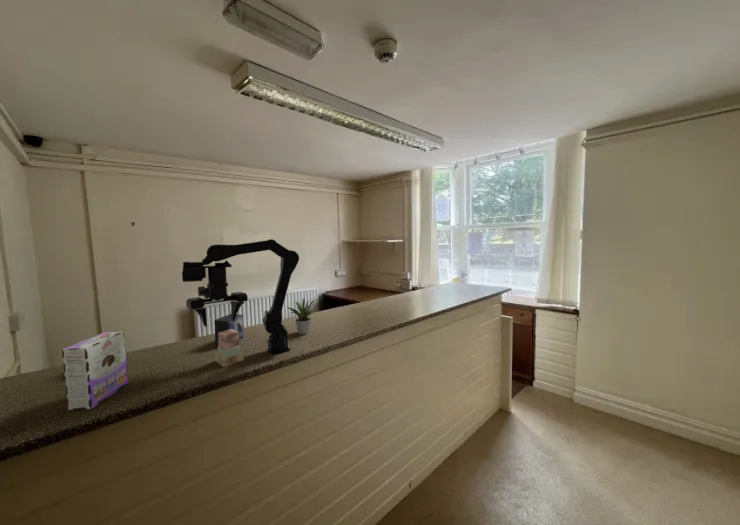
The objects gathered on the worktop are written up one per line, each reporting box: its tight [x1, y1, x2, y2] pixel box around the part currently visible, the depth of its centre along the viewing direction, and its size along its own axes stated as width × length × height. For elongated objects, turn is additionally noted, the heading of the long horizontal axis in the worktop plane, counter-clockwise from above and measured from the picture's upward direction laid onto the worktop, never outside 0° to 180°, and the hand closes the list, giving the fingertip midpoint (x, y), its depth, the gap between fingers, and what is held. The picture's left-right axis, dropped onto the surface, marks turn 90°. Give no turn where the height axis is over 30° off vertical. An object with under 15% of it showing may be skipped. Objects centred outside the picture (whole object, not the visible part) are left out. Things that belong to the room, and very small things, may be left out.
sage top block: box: [217, 344, 242, 359], centre depth 106 cm, size 6×6×3 cm
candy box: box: [61, 330, 129, 411], centre depth 82 cm, size 14×6×16 cm, turn 5°
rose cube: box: [218, 329, 240, 349], centre depth 105 cm, size 5×5×5 cm
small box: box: [214, 313, 244, 346], centre depth 126 cm, size 11×6×10 cm, turn 168°
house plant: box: [286, 297, 318, 335], centre depth 137 cm, size 14×14×16 cm
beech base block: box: [214, 352, 245, 367], centre depth 106 cm, size 7×7×3 cm
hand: (219, 323), depth 105 cm, fingers open, 9 cm apart
